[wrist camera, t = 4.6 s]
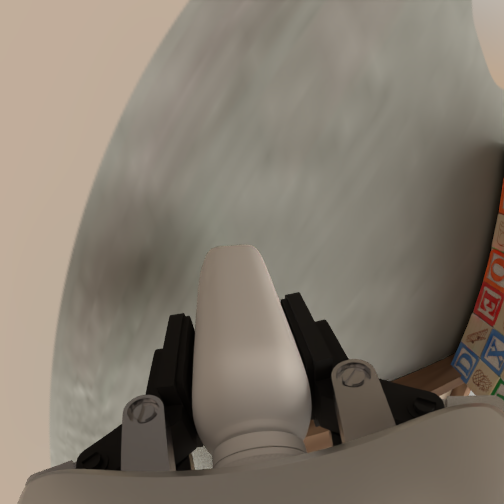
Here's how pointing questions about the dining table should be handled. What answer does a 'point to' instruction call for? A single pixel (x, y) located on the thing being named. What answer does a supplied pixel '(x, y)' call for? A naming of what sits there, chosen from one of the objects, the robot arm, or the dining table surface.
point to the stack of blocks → (486, 326)
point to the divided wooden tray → (429, 378)
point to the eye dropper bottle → (246, 364)
